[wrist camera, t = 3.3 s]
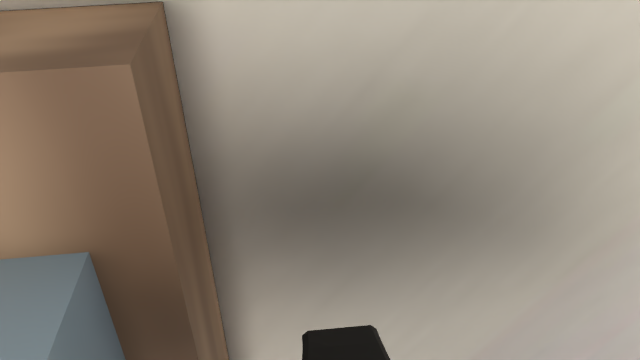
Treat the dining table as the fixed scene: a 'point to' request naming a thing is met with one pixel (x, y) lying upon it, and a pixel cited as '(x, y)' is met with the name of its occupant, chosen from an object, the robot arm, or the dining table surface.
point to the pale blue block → (54, 310)
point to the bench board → (107, 170)
